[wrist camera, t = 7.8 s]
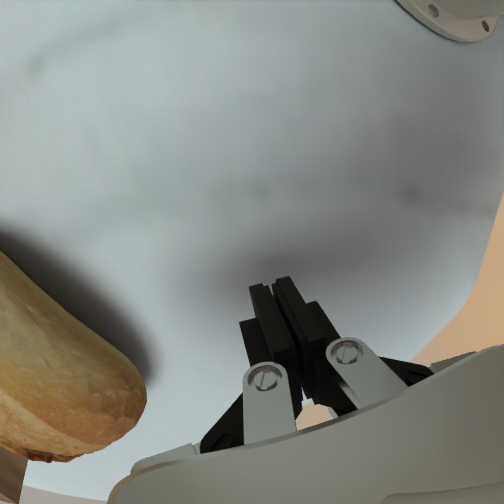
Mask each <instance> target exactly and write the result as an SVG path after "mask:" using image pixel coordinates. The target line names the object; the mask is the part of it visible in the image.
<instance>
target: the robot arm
mask: <svg viewBox="0 0 504 504" xmlns="http://www.w3.org/2000/svg"><path fill="white" fill-rule="evenodd" d="M397 1H398V2H399V3H400V4H401V5H402V6H403V7H404V8H405V9H406V10H407V11H409V12H410V13H411V14H412V15H413V16H414V17H415V18H417V19H418V20H419V21H420V22H422V23H423V24H425V25H426V26H427V27H429V28H430V29H432V30H433V31H435V32H437V33H439V34H441V35H442V36H444V37H446V38H449V39H452V40H455V41H458V42H476V41H482V40H484V39H486V38H488V37H489V36H490V35H491V34H492V33H493V32H494V29H495V27H496V24H497V19H498V16H502V15H504V0H397ZM249 290H250V295H251V299H252V303H253V308H254V312H255V316H256V318H253V319H249V320H245V321H241V322H239V324H240V328H241V332H242V336H243V340H244V344H245V348H246V351H247V355H248V359H249V363H250V368H249V369H248V370H247V371H246V373H245V374H244V376H243V392H242V394H241V395H240V396H239V397H238V398H237V400H236V401H235V402H234V403H233V404H232V405H231V407H230V408H229V409H228V410H227V411H226V412H225V413H224V415H223V416H222V417H221V418H220V419H219V420H218V421H217V423H216V424H215V425H214V426H213V427H212V428H211V429H210V430H209V431H208V433H207V434H206V435H205V436H204V437H203V439H202V440H201V442H200V443H197V444H194V445H192V443H189V444H186V445H184V446H181V447H178V448H175V449H172V450H169V451H166V452H163V453H160V454H157V455H154V456H151V457H147V458H144V459H142V460H140V461H138V462H136V463H135V465H134V466H133V467H132V469H131V474H130V475H129V476H127V477H125V478H124V479H122V480H121V481H119V482H118V483H117V484H116V485H115V486H114V488H113V489H112V491H111V493H110V495H109V498H108V501H107V504H504V344H502V345H496V346H492V347H489V348H486V349H483V350H481V351H478V352H469V353H466V354H463V355H460V356H456V357H453V358H450V359H446V360H443V361H439V362H436V363H432V364H431V365H430V367H428V368H427V367H426V366H423V365H419V364H414V363H409V362H404V361H399V360H394V359H389V358H384V357H379V356H377V355H376V354H375V353H374V352H373V351H372V350H371V349H370V348H369V347H368V346H367V345H366V344H365V343H364V342H362V341H361V340H359V339H356V338H351V337H346V338H341V337H340V336H339V334H338V333H337V331H336V330H335V328H334V326H333V325H332V323H331V322H330V320H329V319H328V317H327V316H326V314H325V313H324V311H323V310H322V308H321V307H320V305H319V304H318V302H317V301H313V302H310V303H305V301H304V300H303V298H302V296H301V295H300V293H299V291H298V290H297V288H296V286H295V285H294V283H293V281H292V280H291V278H290V277H289V276H287V277H283V278H279V279H276V283H274V284H272V290H273V295H272V293H271V291H270V288H269V286H268V285H267V286H263V284H262V283H261V284H257V285H253V286H249ZM273 296H274V297H273ZM301 386H302V387H301ZM302 389H303V391H304V394H305V396H306V398H307V399H310V398H312V400H313V402H314V404H315V405H316V404H321V405H324V406H327V407H328V410H329V413H330V414H331V415H332V417H333V418H334V419H332V420H329V421H326V422H323V423H320V424H317V425H314V426H311V427H308V428H305V429H302V430H299V431H297V428H296V422H295V420H296V418H297V417H298V415H299V414H300V412H301V411H302V403H301V401H303V394H302Z"/></svg>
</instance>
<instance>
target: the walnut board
mask: <svg viewBox="0 0 504 504" xmlns="http://www.w3.org/2000/svg"><path fill="white" fill-rule="evenodd" d="M27 462H28V459H27V458H25V457H23V456H20V455H18V454H15V453H13V452H11V451H9V450H7V449H5V448H3V447H2V446H0V500H1V501H5V502H8V503H12V504H19V500H20V495H21V489H22V484H23V480H24V475H25V471H26V466H27Z"/></svg>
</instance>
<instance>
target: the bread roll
mask: <svg viewBox="0 0 504 504" xmlns="http://www.w3.org/2000/svg"><path fill="white" fill-rule="evenodd" d="M146 403H147V393H146V388H145V384H144V380H143V378H142V376H141V374H140V373H139V371H138V370H137V368H136V367H135V365H134V364H133V363H132V362H131V361H130V360H129V359H128V358H127V357H126V356H125V355H124V354H123V353H121V352H120V351H119V350H117V349H116V348H115V347H114V346H113V345H112V344H110V343H109V342H108V341H106V340H105V339H103V338H102V337H101V336H99V335H98V334H97V333H95V332H94V331H92V330H91V329H89V328H88V327H87V326H85V325H84V324H83V323H81V322H80V321H79V320H77V319H76V318H75V317H74V316H73V315H71V314H70V313H69V312H67V311H66V310H65V309H64V308H63V307H62V306H60V305H59V304H58V303H57V302H56V301H54V300H53V299H52V298H51V297H50V296H49V295H48V294H47V293H45V292H44V291H43V290H42V289H41V288H40V287H39V286H37V285H36V283H35V282H33V281H32V280H31V279H30V278H29V277H27V276H26V275H25V274H24V273H23V272H22V270H21V269H20V268H19V267H18V266H17V265H16V264H15V263H14V262H12V261H11V260H10V259H9V258H8V257H7V256H6V255H5V254H4V253H3V252H1V251H0V446H2V447H3V448H5V449H7V450H9V451H11V452H13V453H15V454H18V455H20V456H23V457H25V458H27V459H29V460H32V461H44V462H47V463H51V462H52V461H55V462H65V463H66V462H69V461H71V460H72V459H74V458H76V457H80V456H82V455H83V454H90V453H93V452H95V451H99V450H102V449H104V448H106V447H107V446H108V445H110V444H111V443H112V442H114V441H116V440H119V439H120V438H122V437H123V436H124V435H125V434H126V433H127V432H129V431H130V430H131V429H132V428H134V427H135V426H136V424H137V422H138V421H139V419H140V417H141V415H142V413H143V411H144V408H145V406H146Z"/></svg>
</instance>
